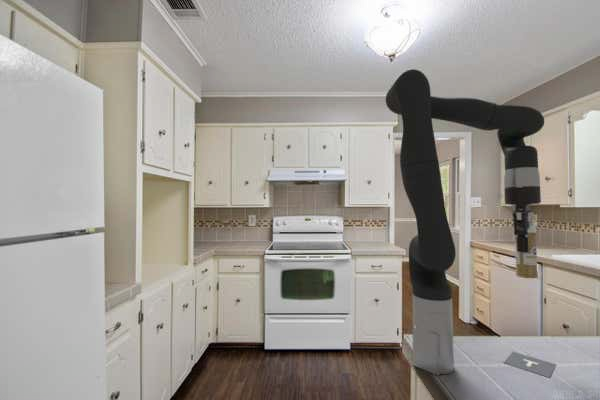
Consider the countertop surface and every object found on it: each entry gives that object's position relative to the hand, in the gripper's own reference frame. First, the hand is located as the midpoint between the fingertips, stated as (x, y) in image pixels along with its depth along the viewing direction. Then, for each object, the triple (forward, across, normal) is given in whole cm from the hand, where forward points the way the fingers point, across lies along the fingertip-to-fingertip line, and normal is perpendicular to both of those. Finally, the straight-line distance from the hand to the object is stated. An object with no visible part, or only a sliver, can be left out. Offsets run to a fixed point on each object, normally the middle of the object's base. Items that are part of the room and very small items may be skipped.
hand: (524, 250), depth 74 cm
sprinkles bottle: (+7, 0, 0) cm, 7 cm away
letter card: (+29, 0, 0) cm, 29 cm away
